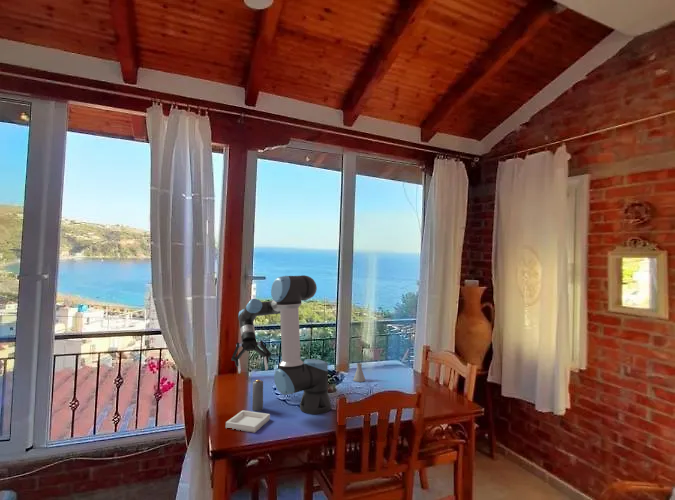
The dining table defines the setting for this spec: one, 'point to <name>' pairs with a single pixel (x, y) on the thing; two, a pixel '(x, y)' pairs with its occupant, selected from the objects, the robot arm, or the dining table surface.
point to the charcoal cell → (257, 395)
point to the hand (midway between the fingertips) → (253, 370)
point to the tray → (248, 421)
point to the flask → (359, 374)
